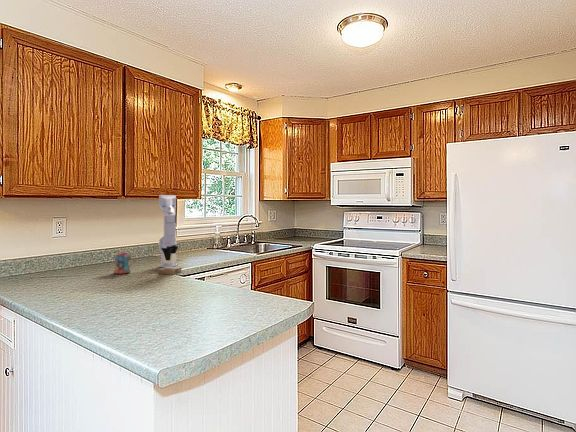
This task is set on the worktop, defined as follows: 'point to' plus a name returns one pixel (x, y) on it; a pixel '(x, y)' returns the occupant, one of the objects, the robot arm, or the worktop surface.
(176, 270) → the base slab
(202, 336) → the worktop surface
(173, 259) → the cube
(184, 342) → the worktop surface
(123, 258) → the mug
